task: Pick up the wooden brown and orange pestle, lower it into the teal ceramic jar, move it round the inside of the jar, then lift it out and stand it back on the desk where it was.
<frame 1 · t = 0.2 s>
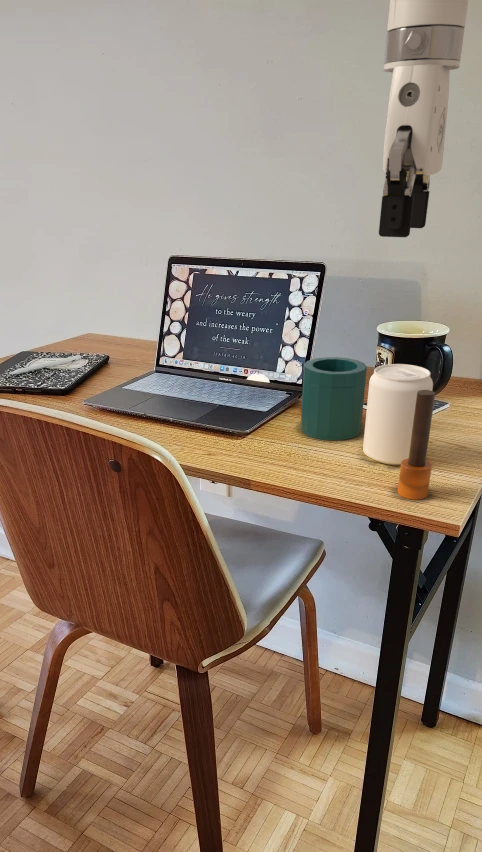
hand: (402, 231, 78), 30 cm above the table, tool pointing down, fingers open, 9 cm apart
jar: (330, 429, 105), on the table
brown and orange pestle: (412, 493, 85), on the table
beverage can: (392, 457, 95), on the table
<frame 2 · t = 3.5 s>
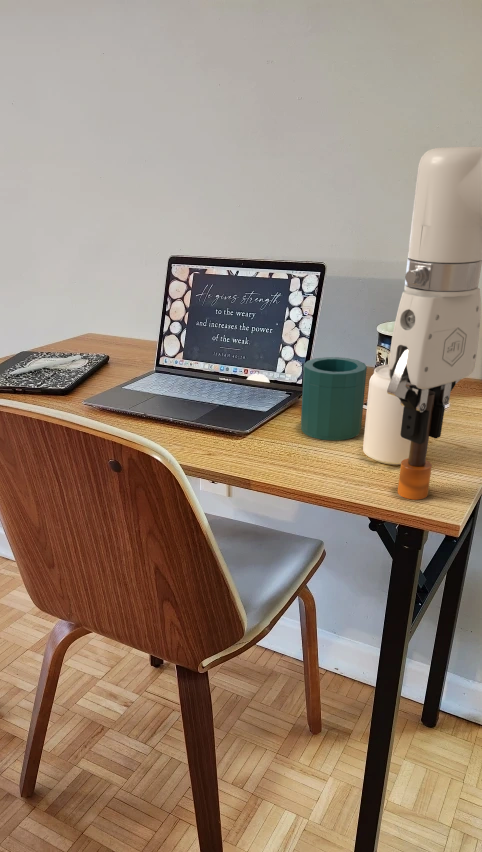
hand: (420, 436, 82), 8 cm above the table, tool pointing down, fingers closed on brown and orange pestle, 2 cm apart
brown and orange pestle: (412, 493, 85), on the table, touching gripper
everything else where it was.
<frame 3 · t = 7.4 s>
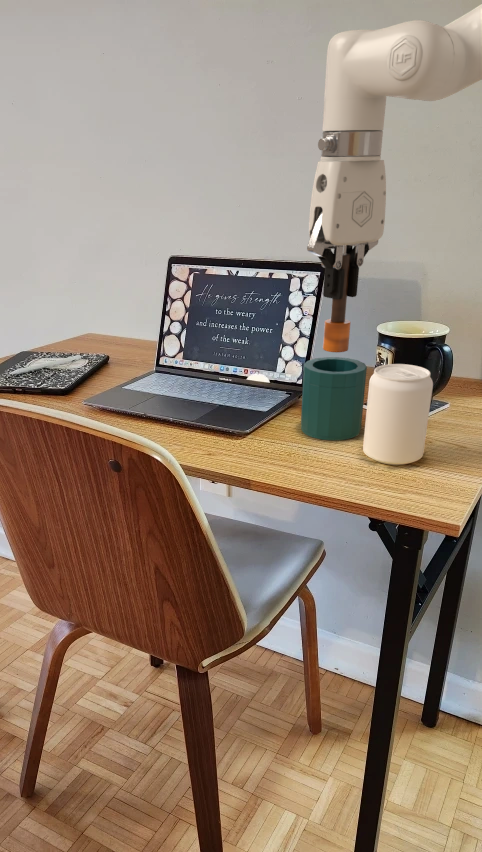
hand: (339, 295, 96), 20 cm above the table, tool pointing down, fingers closed on brown and orange pestle
brown and orange pestle: (335, 349, 99), point 12 cm above the table, touching gripper
everything else where it was.
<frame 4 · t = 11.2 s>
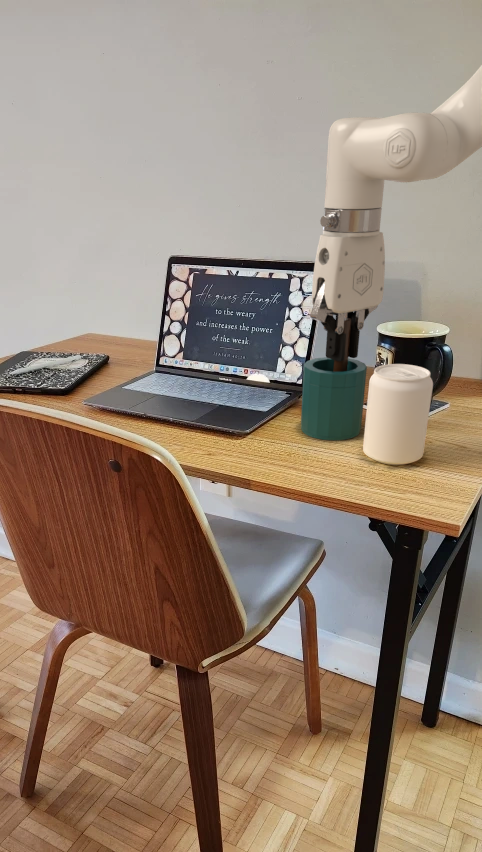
hand: (341, 356, 100), 11 cm above the table, tool pointing down, fingers closed on brown and orange pestle
brown and orange pestle: (337, 405, 104), point 3 cm above the table, touching gripper
everything else where it was.
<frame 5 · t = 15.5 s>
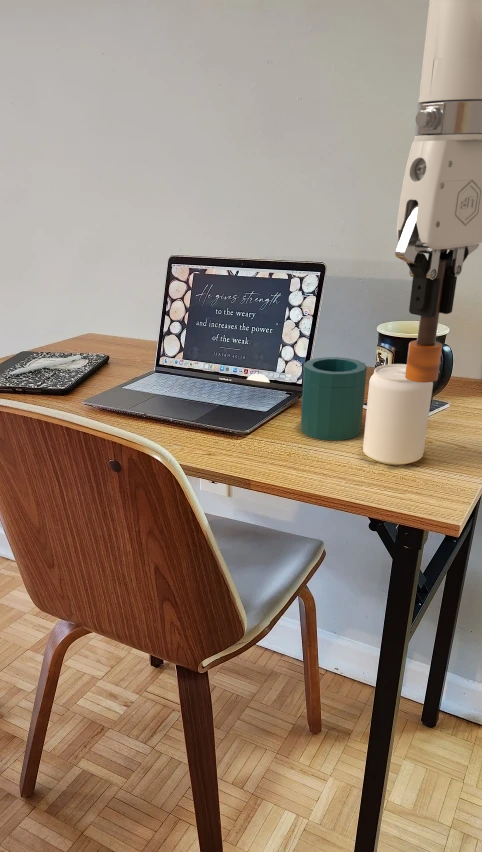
hand: (430, 312, 76), 22 cm above the table, tool pointing down, fingers closed on brown and orange pestle
brown and orange pestle: (421, 378, 80), point 14 cm above the table, touching gripper
everything else where it was.
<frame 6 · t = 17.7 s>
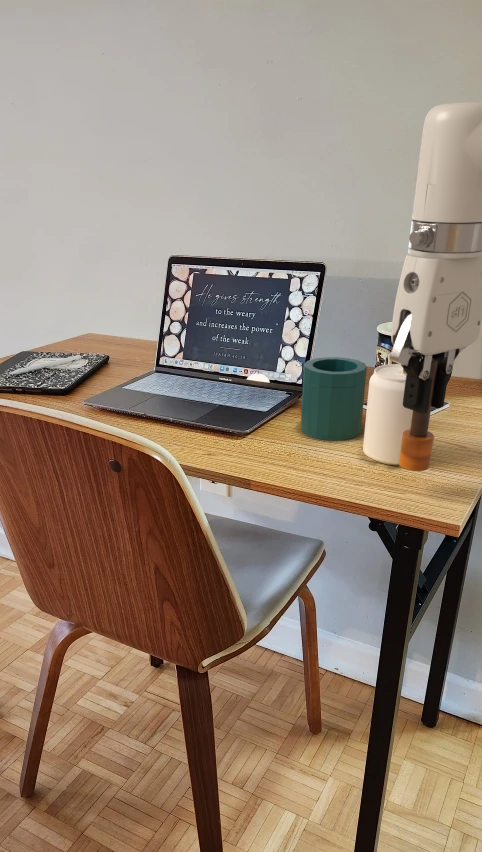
hand: (422, 406, 80), 11 cm above the table, tool pointing down, fingers closed on brown and orange pestle
brown and orange pestle: (413, 465, 83), point 4 cm above the table, touching gripper
everything else where it was.
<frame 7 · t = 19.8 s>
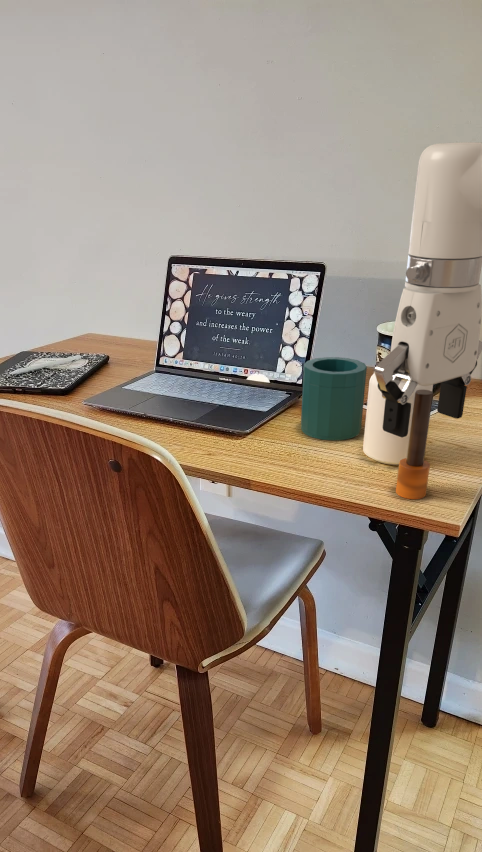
hand: (422, 424, 81), 9 cm above the table, tool pointing down, fingers open, 9 cm apart
brown and orange pestle: (410, 492, 85), on the table
everything else where it was.
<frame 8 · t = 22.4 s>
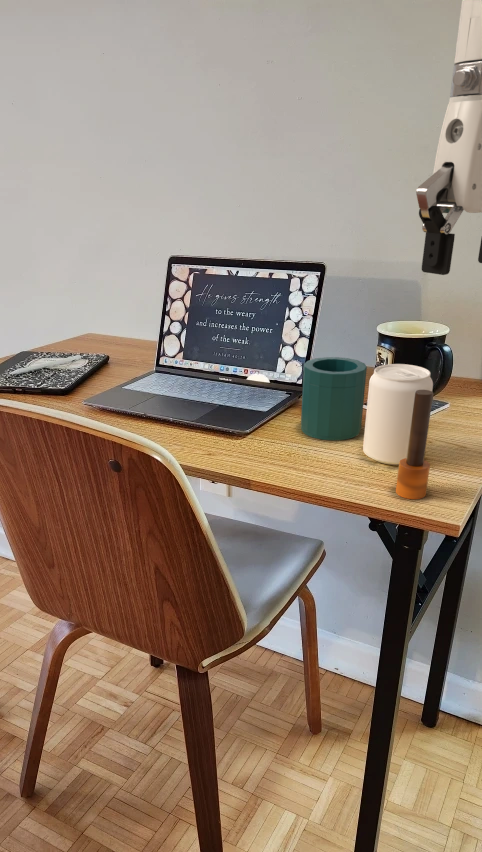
hand: (464, 268, 75), 26 cm above the table, tool pointing down, fingers open, 9 cm apart
nothing on the table moved.
at the end: brown and orange pestle 0.2 cm from the target spot on the table beside the jar, on the table; brown and orange pestle tilted 0°; the gripper is holding nothing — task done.
